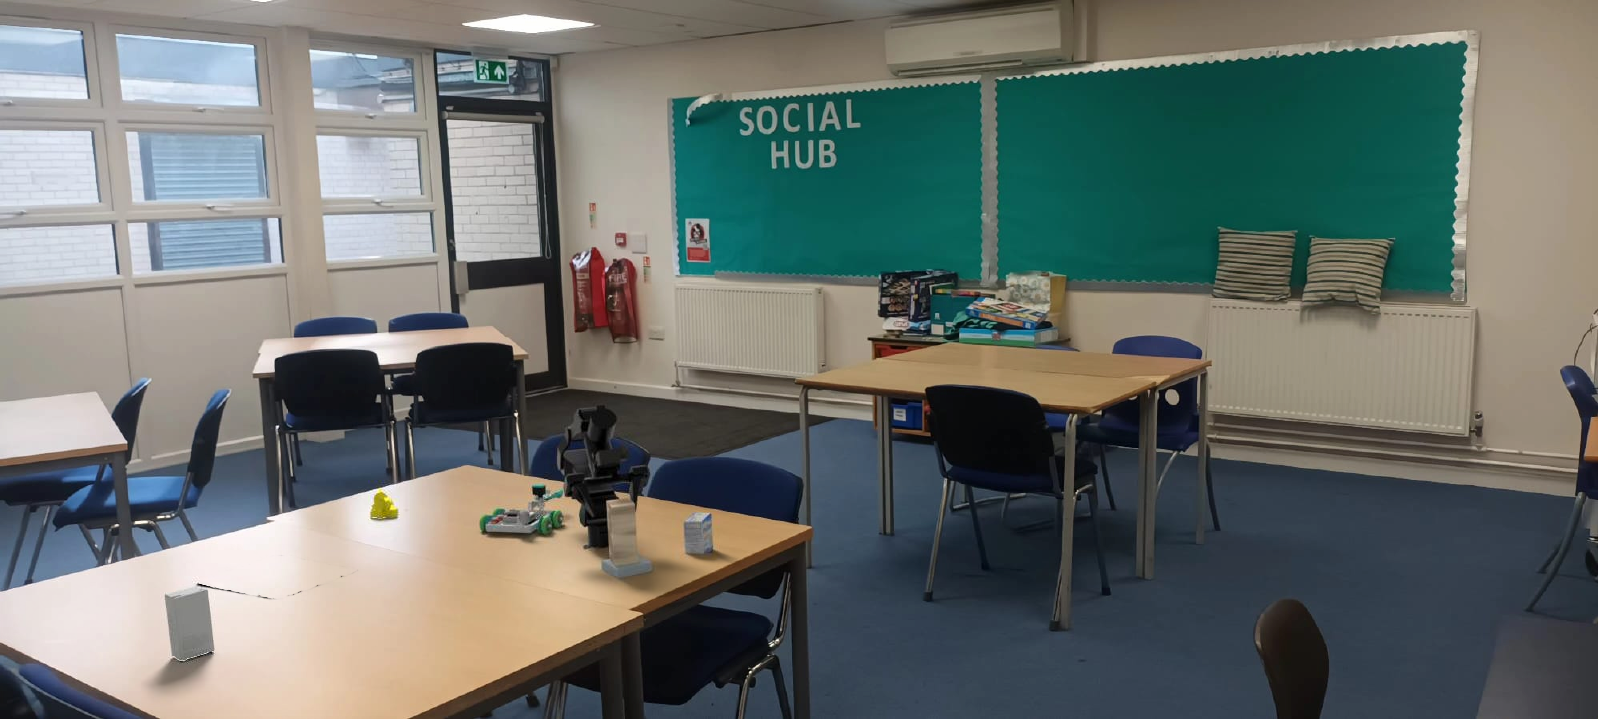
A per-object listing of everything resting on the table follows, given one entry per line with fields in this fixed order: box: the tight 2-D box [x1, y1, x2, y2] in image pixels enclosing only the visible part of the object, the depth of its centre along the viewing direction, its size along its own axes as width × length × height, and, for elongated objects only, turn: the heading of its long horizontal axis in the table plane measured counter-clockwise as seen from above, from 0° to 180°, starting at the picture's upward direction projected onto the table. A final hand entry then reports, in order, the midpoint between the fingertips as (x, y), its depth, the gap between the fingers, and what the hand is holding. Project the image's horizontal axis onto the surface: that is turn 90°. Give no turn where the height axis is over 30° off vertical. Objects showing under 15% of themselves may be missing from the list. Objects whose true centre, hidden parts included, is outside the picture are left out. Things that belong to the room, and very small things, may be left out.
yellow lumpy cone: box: [369, 487, 399, 518], centre depth 300 cm, size 6×8×8 cm
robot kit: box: [479, 483, 564, 535], centre depth 288 cm, size 19×25×9 cm
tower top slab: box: [600, 555, 653, 579], centre depth 244 cm, size 8×8×2 cm
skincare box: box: [164, 585, 215, 660], centre depth 206 cm, size 6×4×12 cm
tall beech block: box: [606, 497, 639, 566], centre depth 243 cm, size 5×5×13 cm
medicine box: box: [683, 512, 714, 555], centre depth 259 cm, size 8×4×9 cm, turn 168°
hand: (614, 513), depth 250 cm, fingers open, 9 cm apart
